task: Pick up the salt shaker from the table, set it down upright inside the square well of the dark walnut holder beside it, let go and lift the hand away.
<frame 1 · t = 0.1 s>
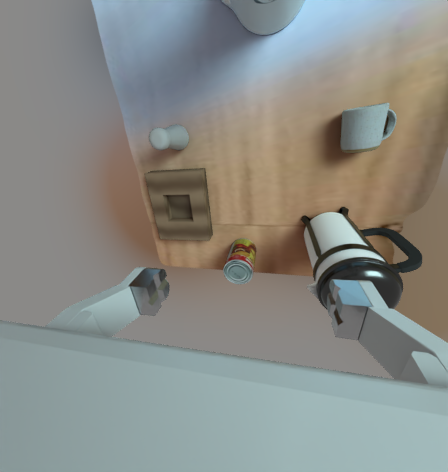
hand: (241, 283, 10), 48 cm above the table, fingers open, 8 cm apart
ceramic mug: (362, 126, 45), on the table
walnut holder: (183, 204, 62), on the table
salt shaker: (181, 137, 54), on the table
coffee press: (330, 227, 56), on the table
canned food: (243, 249, 65), on the table
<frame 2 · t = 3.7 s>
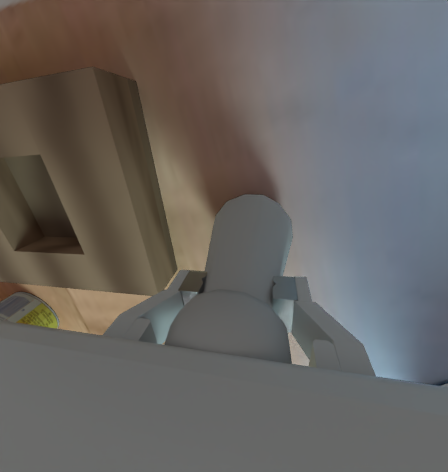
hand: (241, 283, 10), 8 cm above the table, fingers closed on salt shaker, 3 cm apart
walnut holder: (67, 196, 20), on the table
salt shaker: (254, 219, 18), on the table, touching gripper
canned food: (37, 310, 32), on the table
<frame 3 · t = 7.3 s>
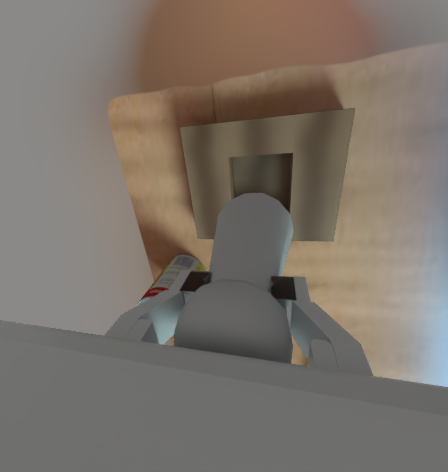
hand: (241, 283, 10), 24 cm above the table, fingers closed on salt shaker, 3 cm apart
walnut holder: (261, 180, 31), on the table
salt shaker: (255, 217, 18), point 15 cm above the table, touching gripper
canned food: (187, 270, 43), on the table
when the fingers open (10 cm above the table, at t = 10.6 s): salt shaker stays where it is, resting on walnut holder.
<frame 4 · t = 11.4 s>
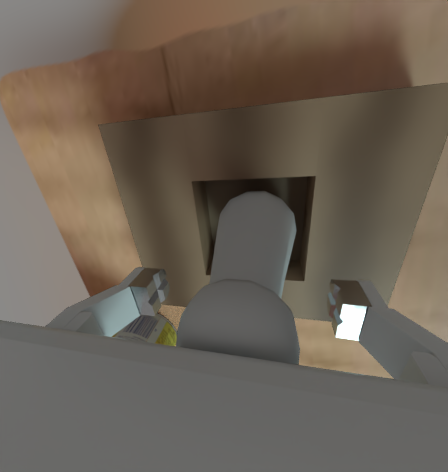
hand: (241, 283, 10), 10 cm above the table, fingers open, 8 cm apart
walnut holder: (255, 214, 19), on the table
salt shaker: (257, 216, 18), point 1 cm above the table, touching walnut holder
canned food: (152, 328, 30), on the table
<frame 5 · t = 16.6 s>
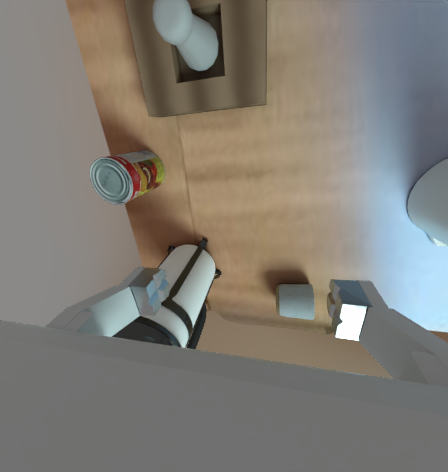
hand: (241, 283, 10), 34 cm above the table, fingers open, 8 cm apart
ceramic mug: (294, 293, 52), on the table
walnut holder: (204, 54, 34), on the table
salt shaker: (204, 52, 33), point 1 cm above the table, touching walnut holder
coffee press: (198, 263, 54), on the table
canned food: (149, 169, 45), on the table
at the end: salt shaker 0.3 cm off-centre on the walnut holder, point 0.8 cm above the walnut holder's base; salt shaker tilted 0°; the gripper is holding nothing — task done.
